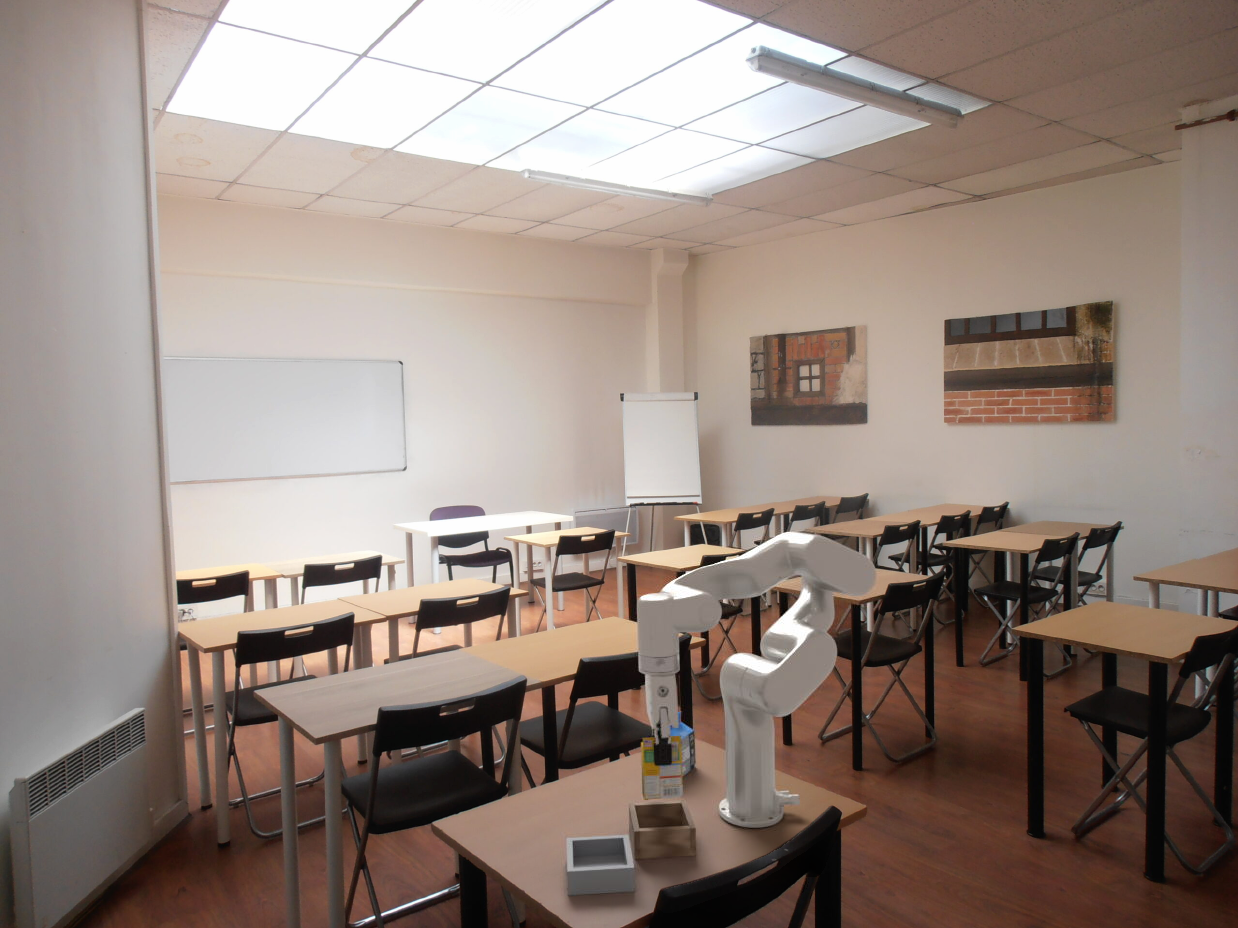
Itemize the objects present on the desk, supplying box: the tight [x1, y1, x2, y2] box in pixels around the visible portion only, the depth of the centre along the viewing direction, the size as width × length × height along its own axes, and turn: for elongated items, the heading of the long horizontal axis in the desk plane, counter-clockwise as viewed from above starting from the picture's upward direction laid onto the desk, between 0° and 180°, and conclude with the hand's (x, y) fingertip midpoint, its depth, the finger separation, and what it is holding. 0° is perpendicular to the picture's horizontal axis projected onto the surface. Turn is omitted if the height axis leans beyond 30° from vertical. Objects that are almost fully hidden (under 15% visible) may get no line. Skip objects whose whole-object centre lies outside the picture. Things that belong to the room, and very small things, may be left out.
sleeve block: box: [628, 799, 697, 860], centre depth 148 cm, size 11×11×5 cm
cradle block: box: [566, 834, 636, 896], centre depth 137 cm, size 11×11×4 cm
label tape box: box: [670, 710, 697, 778], centre depth 178 cm, size 9×4×12 cm, turn 149°
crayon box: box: [640, 735, 684, 801], centre depth 148 cm, size 7×3×12 cm, turn 95°
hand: (661, 759), depth 148 cm, fingers closed on crayon box, 3 cm apart
